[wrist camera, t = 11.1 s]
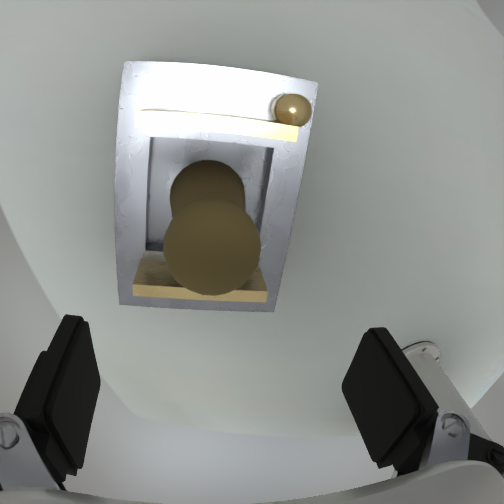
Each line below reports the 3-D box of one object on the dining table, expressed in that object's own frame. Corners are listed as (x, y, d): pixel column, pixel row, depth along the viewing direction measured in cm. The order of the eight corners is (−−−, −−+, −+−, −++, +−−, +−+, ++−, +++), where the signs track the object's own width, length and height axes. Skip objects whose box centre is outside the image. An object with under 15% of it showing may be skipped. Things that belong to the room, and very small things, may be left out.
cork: (245, 230, 27) (272, 309, 18) (172, 234, 26) (160, 316, 17) (245, 158, 25) (277, 200, 15) (166, 162, 24) (144, 208, 14)
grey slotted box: (262, 278, 35) (282, 336, 27) (130, 270, 32) (112, 329, 24) (295, 84, 26) (337, 81, 18) (139, 68, 24) (111, 55, 15)
